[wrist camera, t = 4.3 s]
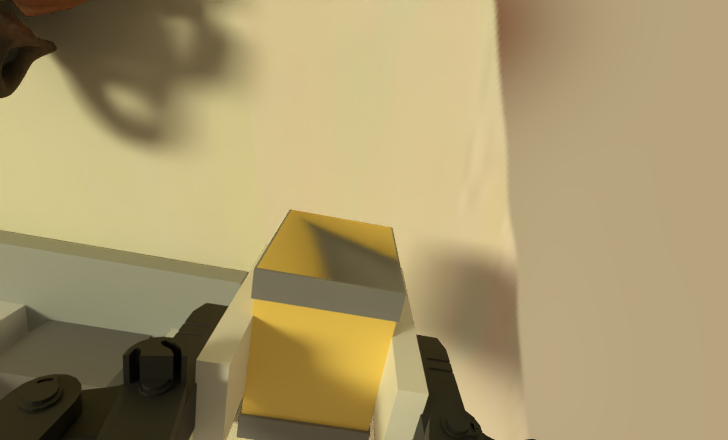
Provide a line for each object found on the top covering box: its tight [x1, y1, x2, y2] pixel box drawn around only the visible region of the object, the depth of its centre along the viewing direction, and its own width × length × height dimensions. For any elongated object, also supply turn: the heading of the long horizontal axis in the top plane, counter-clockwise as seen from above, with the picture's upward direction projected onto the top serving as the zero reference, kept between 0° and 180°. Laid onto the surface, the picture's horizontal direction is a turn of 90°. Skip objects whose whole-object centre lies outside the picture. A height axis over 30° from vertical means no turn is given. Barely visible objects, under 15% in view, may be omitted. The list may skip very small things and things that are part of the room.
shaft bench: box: [0, 230, 248, 440], centre depth 20 cm, size 12×18×10 cm, turn 79°
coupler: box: [237, 210, 406, 440], centre depth 13 cm, size 4×6×5 cm
